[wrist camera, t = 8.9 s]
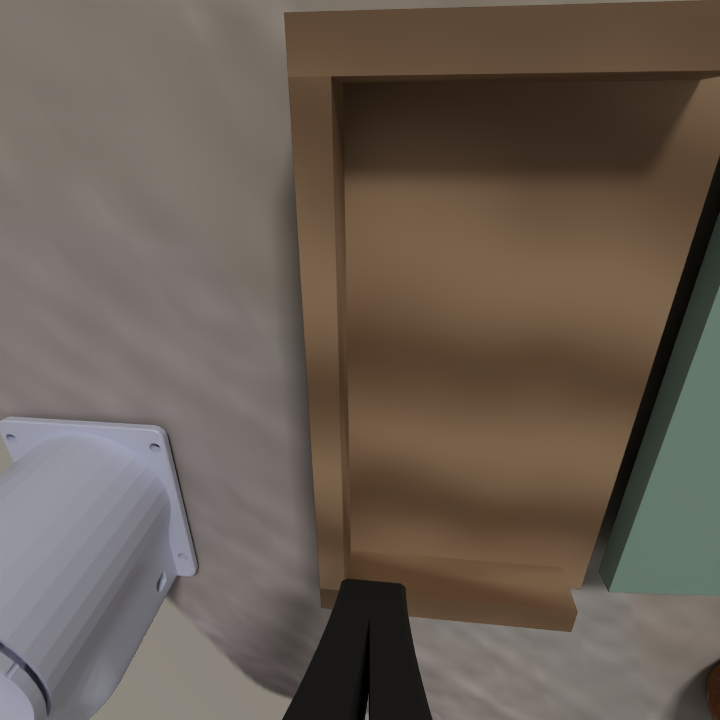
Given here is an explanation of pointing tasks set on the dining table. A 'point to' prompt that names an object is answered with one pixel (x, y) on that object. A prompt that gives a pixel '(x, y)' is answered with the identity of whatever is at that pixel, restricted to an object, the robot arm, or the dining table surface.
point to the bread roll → (714, 692)
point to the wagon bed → (488, 280)
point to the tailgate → (677, 465)
